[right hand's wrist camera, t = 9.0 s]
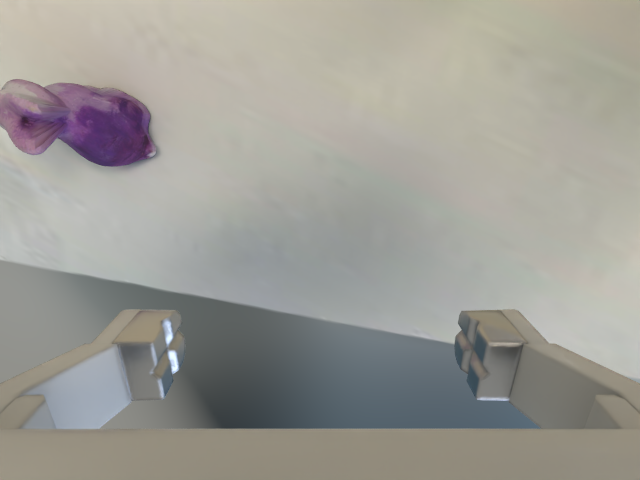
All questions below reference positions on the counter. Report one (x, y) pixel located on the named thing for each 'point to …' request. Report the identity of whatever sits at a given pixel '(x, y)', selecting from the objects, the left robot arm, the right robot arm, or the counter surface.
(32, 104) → the figurine
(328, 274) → the counter surface
